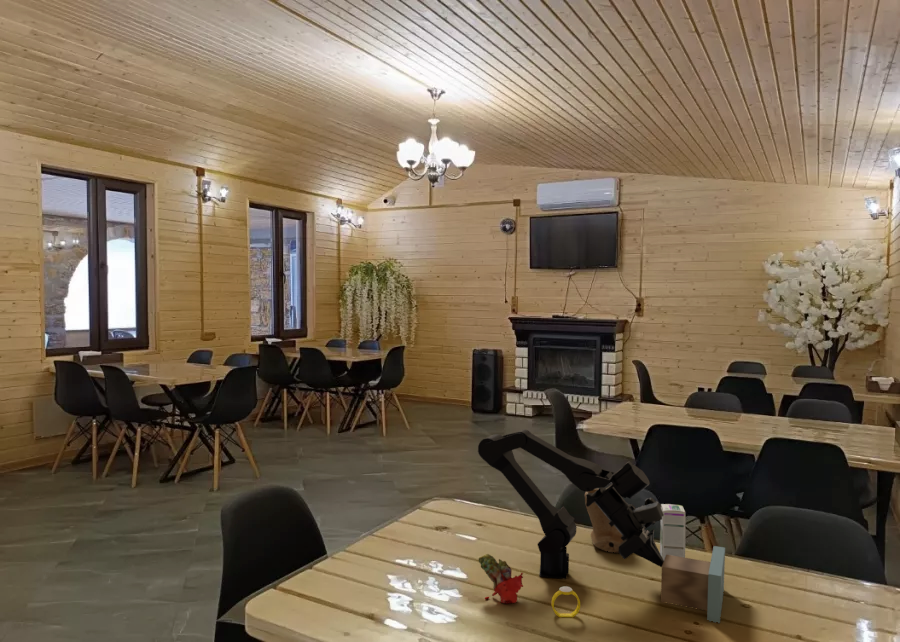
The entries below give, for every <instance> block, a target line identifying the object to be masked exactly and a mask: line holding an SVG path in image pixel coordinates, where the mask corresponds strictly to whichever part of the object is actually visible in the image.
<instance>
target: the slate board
mask: <svg viewBox="0 0 900 642" xmlns="http://www.w3.org/2000/svg"><path fill="white" fill-rule="evenodd" d="M725 557H726V547H723V546H717V545H713V548H712V553H711V558H710V562H711V563H710V568H709V574H708V607H707V611H706V612H707V613H706V615H707V617H706V621H707V620H709V621H708V622H711V621H713V622H712V623H716V622H718V624H720V623H721V618H720V617H721V615H722V608H723V599H724V593H723V592H724V590H725V569H726V568H725V564H726V563H725V562H726V561H725V560H726V558H725Z"/></svg>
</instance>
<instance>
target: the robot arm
mask: <svg viewBox="0 0 900 642" xmlns="http://www.w3.org/2000/svg"><path fill="white" fill-rule="evenodd" d="M517 449H522V450H524V451H525V452H527V453H529V454H530V455H532V456H534V457H536V458H537V459H539V460H540V461H542V462H543V463H546V464H547V465H549V466H550V467H553V468H555V469H556V470H558V471H560V472H561V473H563V475H564V476H565V477H566V478H567V479H568V481H569V482H571V484H573V485H574V486H575V487H577V488H578V489H579V490H580V491H583V492H589V491H593V490H594V489H598V490H597V491H595V492H594V493H588V494H587V495H586V497H587V502H586V504H585V507H586V506H587V507H589V506H590V505H591V504H592V503H594V502H595V503H596V504H597V506H598V507H599V508H600V509H601V510H602V512H603V513H604V514H605V515H606V516H607V518H608V519H609V520H610V522H609V524H610V526H611V527H612V526H613V525H614V526H615V527H616V529H617V530H618V531H619V532H620V533H621V535H622V536H621V539H622V540H623V541H622V542H621V544H620V545H619V551H618V553H617V554H619V555H620V557H622V559H623V560H626V559H627V558H629V557H630V556H632V555H633V554H634V555H636V556H639V557H641V558H643V560H644V559H645V560H647V561H649V562H650V563H652V564H655V565H656V566H658V567H660V568H662V565H663V562H664V560H663V558H662V556H661V554H660V549H659V548H658V546H657V544H656V542H655V540H654V539H655V529H654V528H653V529H652V530H648V529H647V528H648V527H650V525H655V524H656V522H659V521H660V520H662V516H664V514H663V512H662V510H661V504H662V503H660V502H659V501H658V500H655V499H654V498H653V497H649V498H648V497H647V498H646V499H645V500H644V505H641V506H639V507H635V505H634V504H633V503H630V504H629V503H628V502H626V500H625V499H626V498H628V499H632V498H634V497H635V496H637V495H638V494H639V493H640V492H642V491H643V490H645V488H647V487H648V486H649V485H650V484H651V483H650V480H649V478H648V476H647V475H646V474H645V472H644V471H643V470H642V469H640V468H639V467H638V466H636V465H634V464H633V463H632V462H631V461H630V460H628V461H627V462H626V463H625V464H624V465H623V466H622V467H621V468H620V469H619V470H617V471H616V472H615V471H611V470H608V469H604V468H602V467H601V466H600V465H599V464H598V463H595V462H593V461H590V460H587V459H584V458H580V457H575V456H573V455H570V454H568V453H566V452H564V451H563V450H561V449H560V448H557V447H556V446H555V445H552V444H551V443H549V442H547V441H545V440H544V439H542V438H540V437H538V436H537V435H535V434H534V433H532V432H531V431H529V430H528V429H520V430H519V431H516V432H512V433H508V434H507V433H506V434H504V435H502V434H498V433H495V434H492V435H488V436H487V437H485V438H483V439H482V440H480V441H479V443H478V445H477V453H478V455H479V457H480V458H481V460H483V461H484V462H485V463H486V464H487V465H489V466H490V467H491V468H493V469H494V470H497V471H498V472H500V473H502V475H503V476H504V478H505V479H507V481H508V483H509V484H510V485H511V486H512V487H513V489H514V490H515V491H516V492H517V494H518V495H519V497H521V499H522V500H523V501H524V502H525V503H526V504H527V506H528V508H529V509H530V510H531V511H532V512H533V513H534V514H535V516H536V517H537V518H538V521H539V524H540V527H541V531H542V532H543V534H544V536H543V537H542V538H541V539H540V541H538V543H537V549H538V551H539V552H540V558H539V559H540V560H539V561H540V562H539V563H540V565H539V566H540V567H539V577H541V578H550V579H551V578H552V579H565V580H566V579H567V576H568V574H569V573H570V572H569V569H570V564H569V563H570V554H569V553H568V552H567V546H568V545H569V544H570V543H571V541H572V540H573V539H574V537H575V536H576V534H577V528H578V527H577V523H575V521H574V520H575V517H573V516H572V515H570V513H569V512H568V510H567V508H565V506H562V507H561V508H560V509H559V508H557V507H556V506H554V505H553V504H552V503H551V502H550V501H549V499H548V498H547V497H546V496H545V495H544V493H542V491H541V490H540V489H539V488H538V486H537V485H536V483H534V481H533V480H532V479H531V477H530V476H529V475H528V474H527V473H526V471H525V470H524V469H523V468H522V467H521V465H520V464H519V463H518V462H517V460H516V458H515V455H514V453H513V451H514V450H517ZM609 484H610V485H609ZM608 485H609V486H608ZM607 486H608V487H607Z"/></svg>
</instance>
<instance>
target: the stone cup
mask: <svg viewBox="0 0 900 642" xmlns="http://www.w3.org/2000/svg"><path fill="white" fill-rule="evenodd" d="M598 489H599V488H596V489H594V490H593V491H589V492H585V491H584V492H585V493H584V504H585V508H586V511H587V513H588V516H589V519H590V522H591V525H592V531H591V532H590V538H591V541H592V543H593V546H594V547H596V548H597V549H600V550H602V551H604V552H607V551H608V553H613V552H614V554H615V553H617V554H619V553H618V551H619V545H620V544H621V542H622V541H623V540H622V539H621V536H622V535H621V533H620V532H619V531H618V530H617V529H616V527H615V526H614V525H613V526H612V527H611V526H610V524H609V522H610V520H609V519H608V518H607V516H606V515H605V514H604V513H603V512H602V510H601V509H600V508H599V507H598V506H597V504H596V503H595V502H594V503H592V504H591V505H590V506H589V507H587V506H586V502H587V497H586V495H587V494H588V493H594V492H595V491H597V490H598Z"/></svg>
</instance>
